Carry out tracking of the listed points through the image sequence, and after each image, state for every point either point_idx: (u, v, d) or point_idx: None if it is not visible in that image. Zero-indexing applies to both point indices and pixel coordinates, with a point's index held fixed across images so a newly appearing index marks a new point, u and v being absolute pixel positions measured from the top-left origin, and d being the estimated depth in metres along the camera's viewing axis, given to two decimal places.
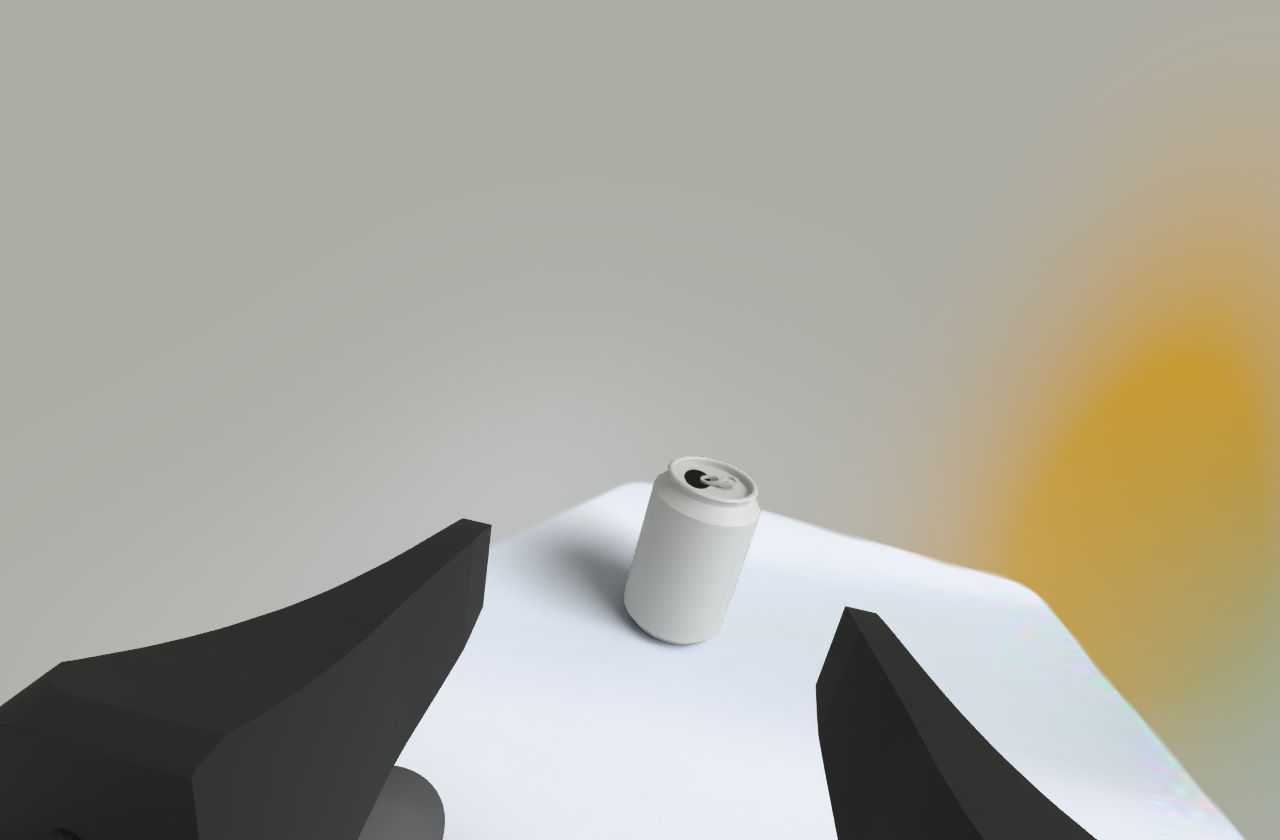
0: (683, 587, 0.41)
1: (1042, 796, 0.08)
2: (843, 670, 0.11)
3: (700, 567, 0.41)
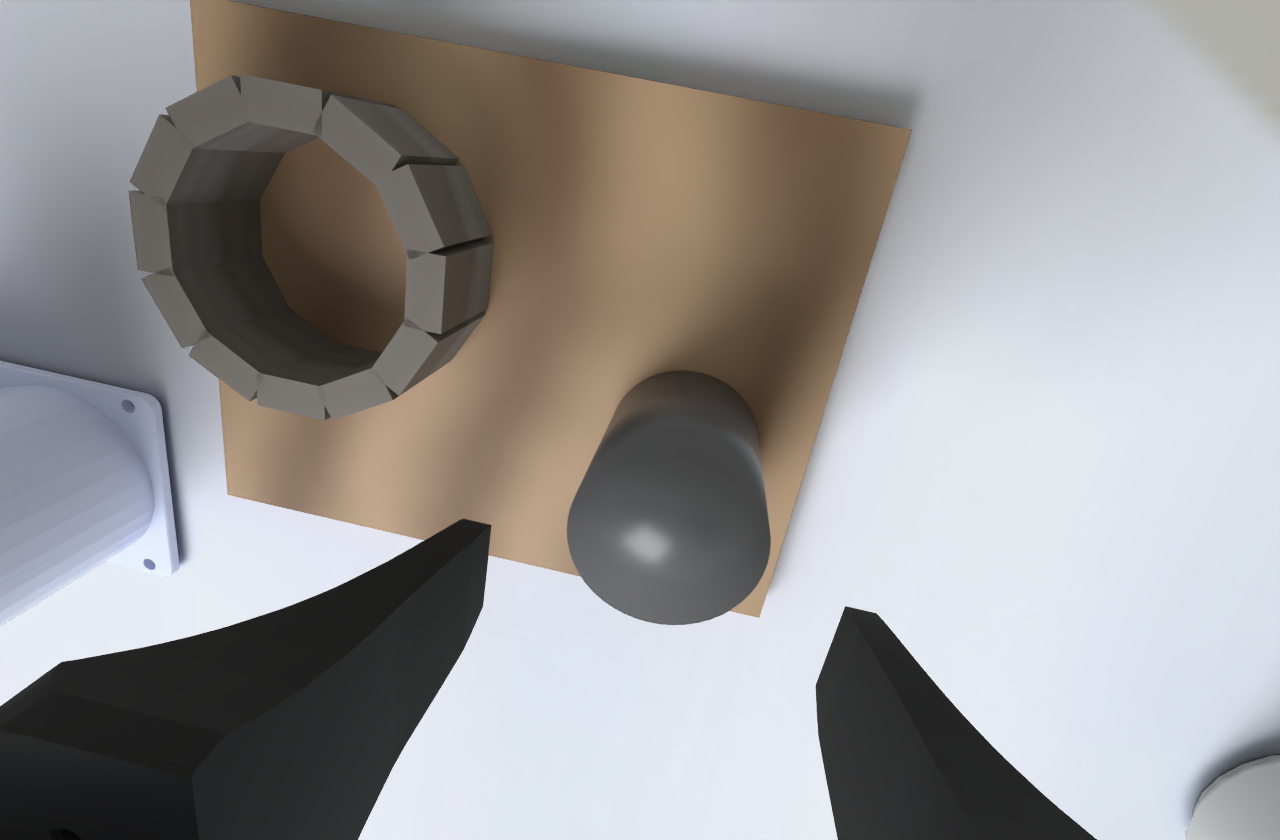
0: None
1: (1042, 796, 0.08)
2: (843, 670, 0.11)
3: None
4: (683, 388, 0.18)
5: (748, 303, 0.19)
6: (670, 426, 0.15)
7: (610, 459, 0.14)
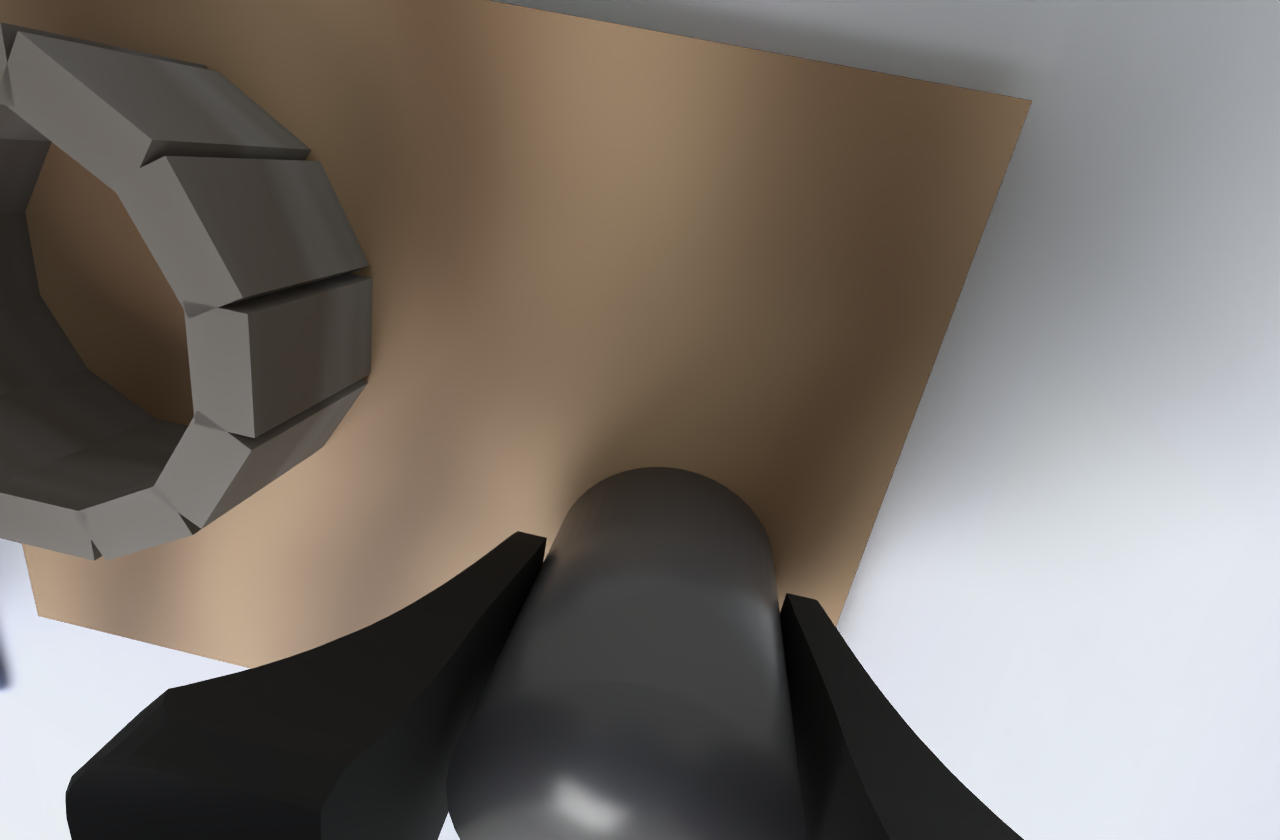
0: None
1: (952, 775, 0.08)
2: None
3: None
4: (658, 510, 0.11)
5: (760, 372, 0.12)
6: (628, 611, 0.09)
7: (515, 691, 0.08)
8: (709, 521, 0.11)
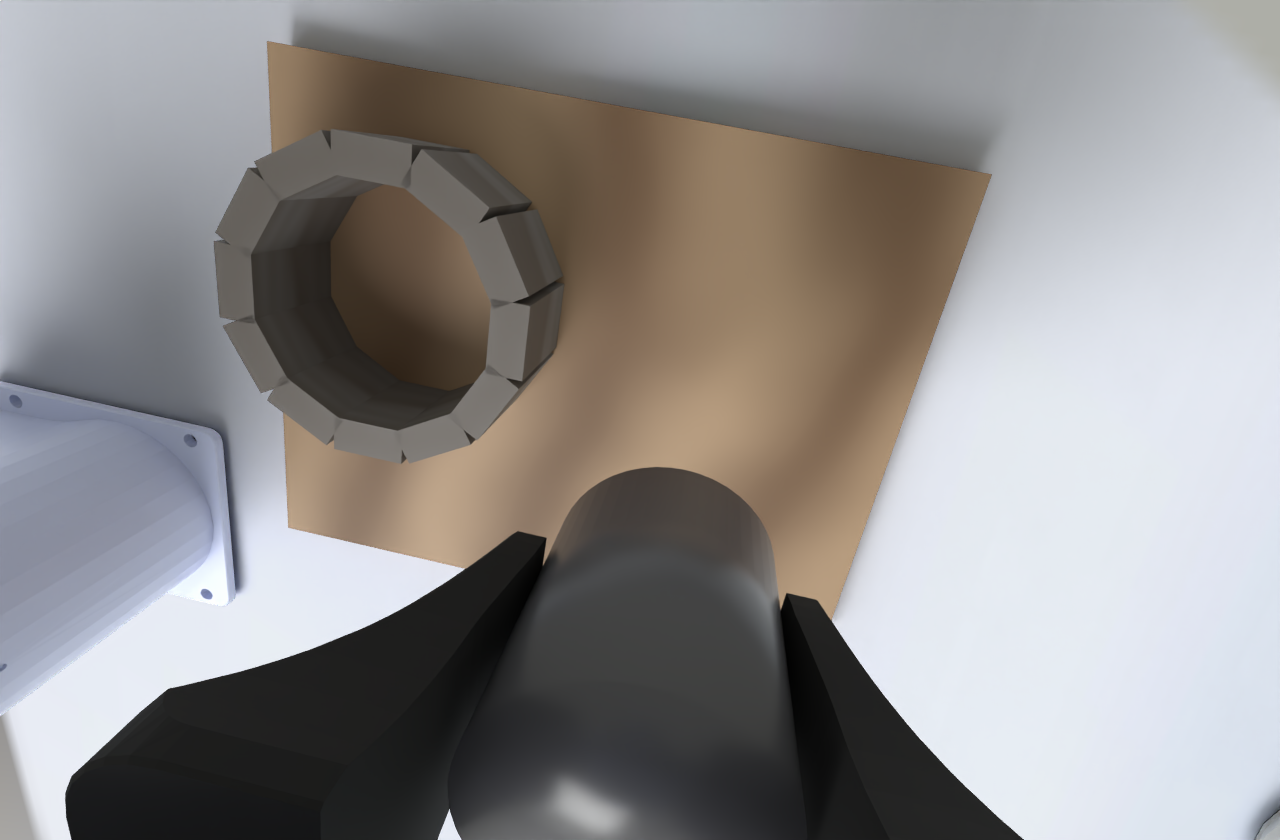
0: None
1: (952, 775, 0.08)
2: None
3: None
4: (659, 510, 0.11)
5: (819, 343, 0.19)
6: (629, 611, 0.09)
7: (516, 691, 0.08)
8: (710, 521, 0.11)
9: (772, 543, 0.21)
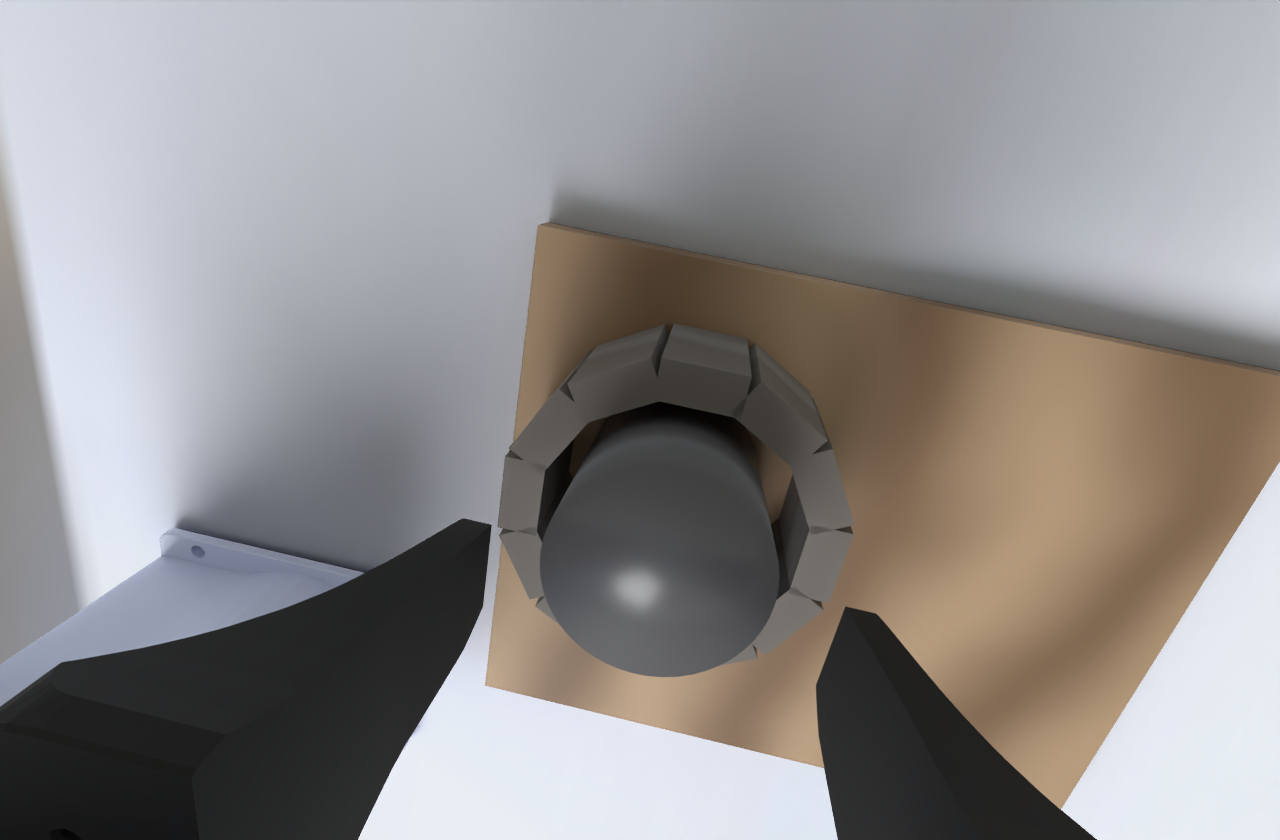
0: None
1: (1043, 796, 0.08)
2: (843, 670, 0.11)
3: None
4: (676, 405, 0.16)
5: (1104, 537, 0.18)
6: (663, 441, 0.13)
7: (594, 476, 0.12)
8: (712, 414, 0.16)
9: (1017, 722, 0.20)
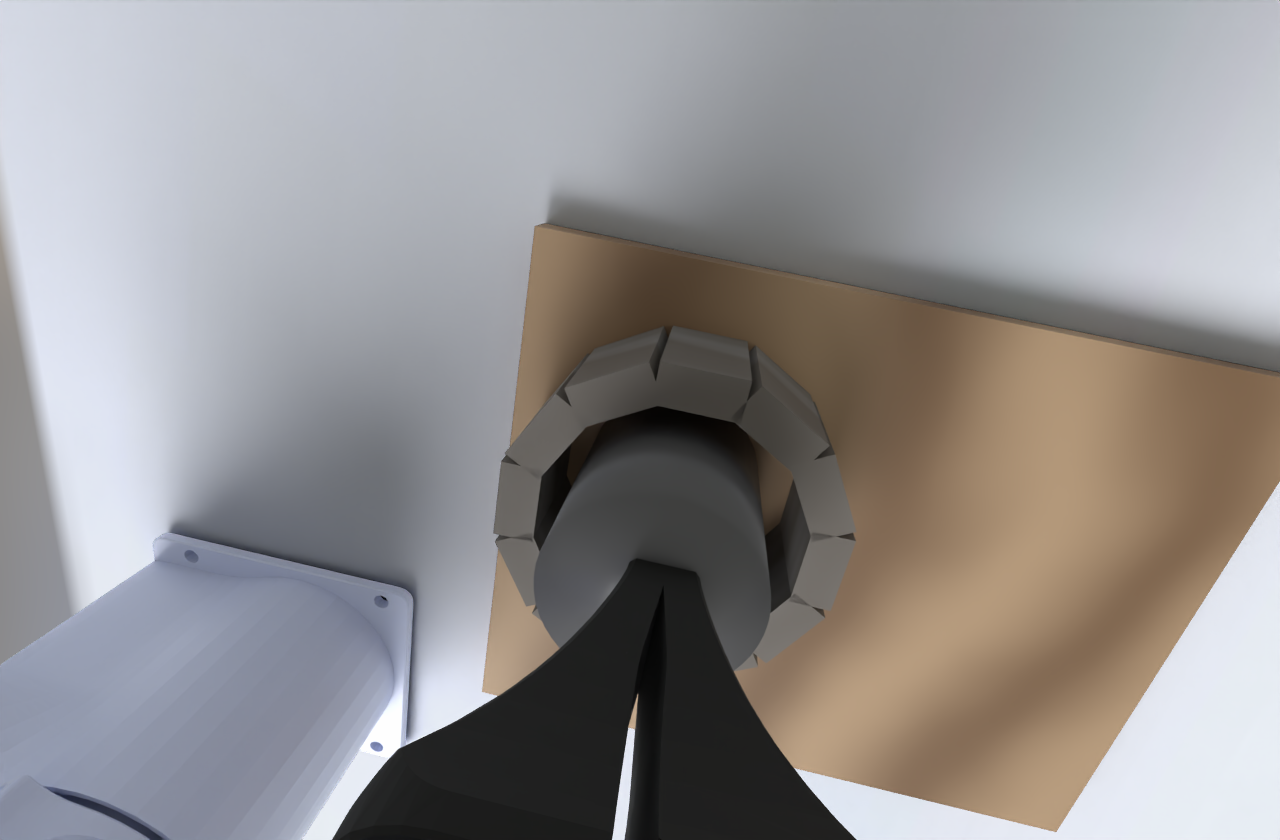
0: None
1: (766, 730, 0.08)
2: (654, 625, 0.12)
3: None
4: (679, 415, 0.16)
5: (1110, 543, 0.17)
6: (664, 464, 0.13)
7: (592, 500, 0.12)
8: (715, 426, 0.16)
9: (1021, 729, 0.20)
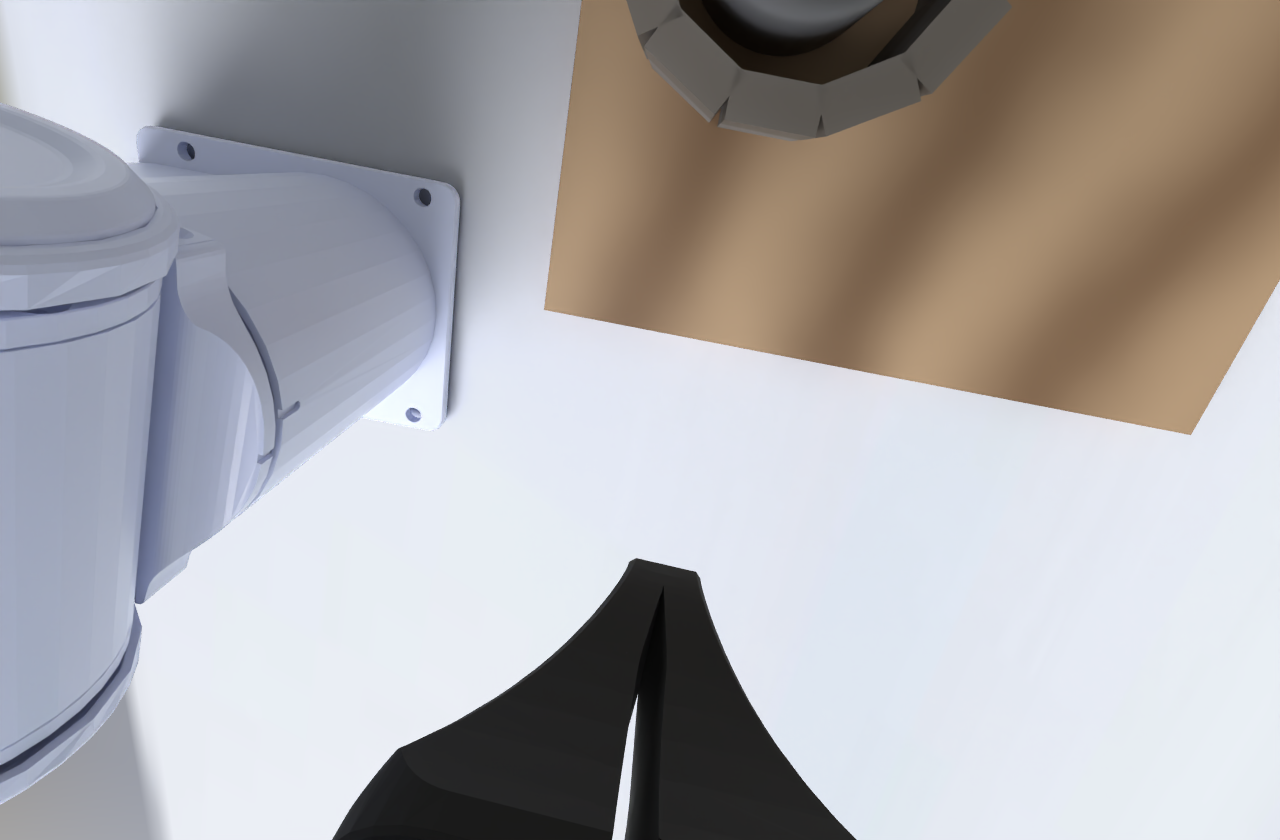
0: None
1: (766, 730, 0.08)
2: (654, 626, 0.12)
3: None
4: None
5: None
6: None
7: None
8: None
9: (1167, 293, 0.18)
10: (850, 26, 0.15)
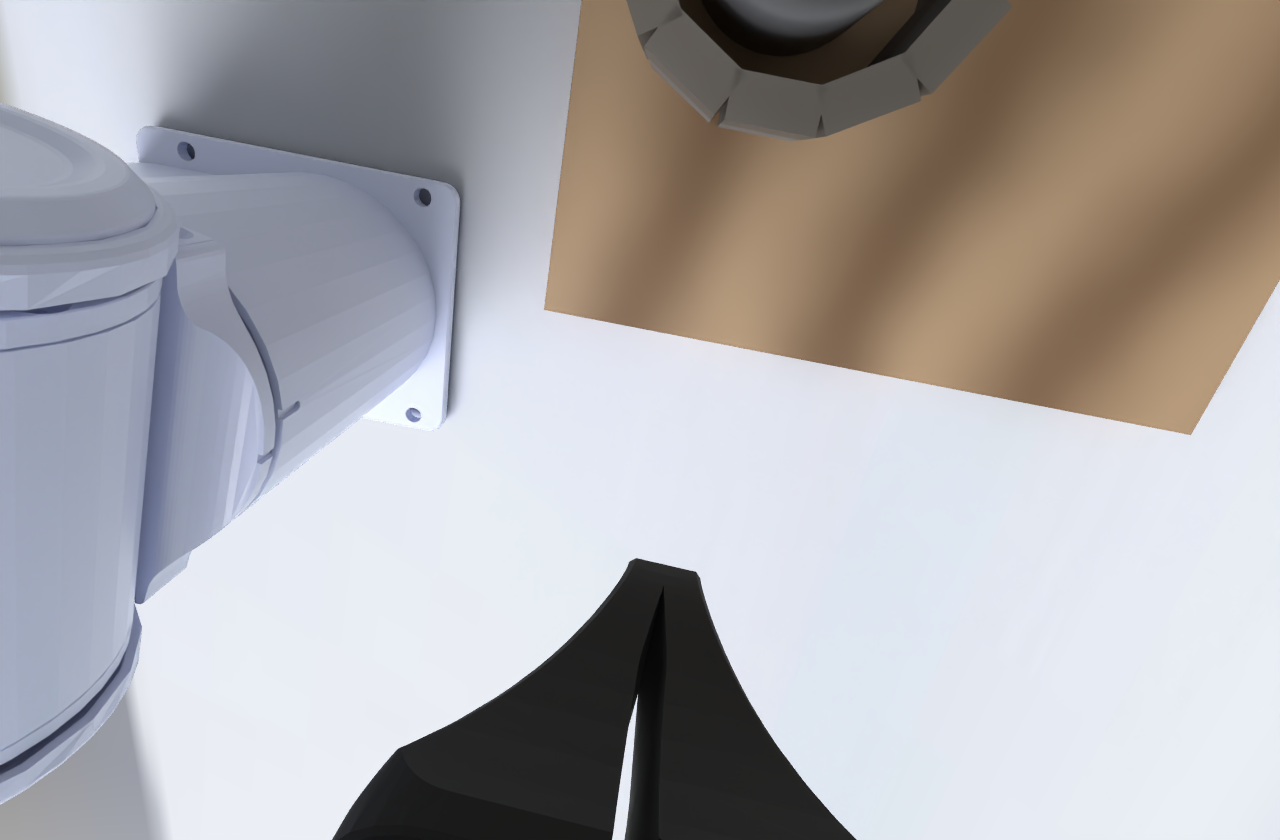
0: None
1: (766, 730, 0.08)
2: (654, 626, 0.12)
3: None
4: None
5: None
6: None
7: None
8: None
9: (1167, 293, 0.18)
10: (850, 26, 0.15)
